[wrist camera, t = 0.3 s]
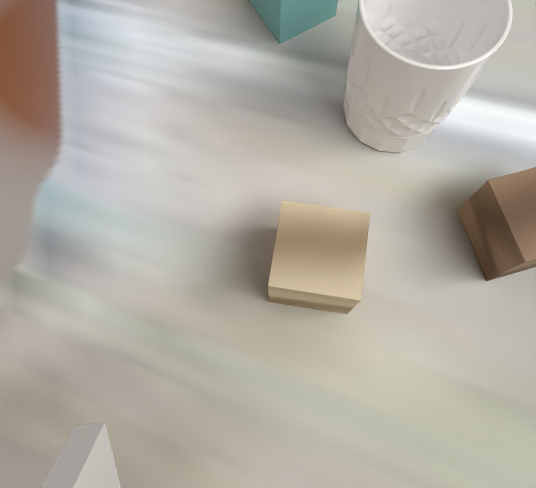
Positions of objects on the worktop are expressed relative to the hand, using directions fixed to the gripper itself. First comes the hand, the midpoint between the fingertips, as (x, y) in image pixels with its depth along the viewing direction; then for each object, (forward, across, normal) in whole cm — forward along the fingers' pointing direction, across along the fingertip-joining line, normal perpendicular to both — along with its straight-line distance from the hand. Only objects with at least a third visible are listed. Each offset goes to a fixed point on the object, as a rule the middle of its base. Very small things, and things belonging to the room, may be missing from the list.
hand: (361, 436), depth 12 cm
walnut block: (+20, -14, +1) cm, 24 cm away
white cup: (+25, -8, -7) cm, 27 cm away
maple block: (+19, -1, +2) cm, 19 cm away
